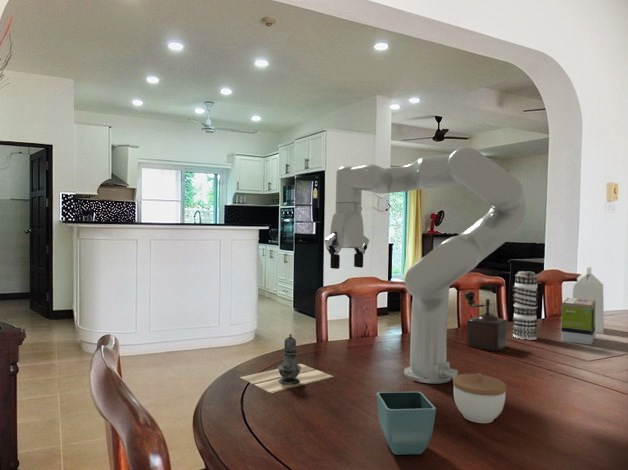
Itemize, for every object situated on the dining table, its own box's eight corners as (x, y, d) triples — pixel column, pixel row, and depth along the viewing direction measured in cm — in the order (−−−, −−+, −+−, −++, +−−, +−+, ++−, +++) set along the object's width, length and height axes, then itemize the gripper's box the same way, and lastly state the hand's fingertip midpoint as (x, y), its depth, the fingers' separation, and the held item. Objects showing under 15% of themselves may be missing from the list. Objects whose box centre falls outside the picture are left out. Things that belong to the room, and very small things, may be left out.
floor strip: (315, 373, 125) (315, 369, 125) (253, 389, 112) (253, 383, 112) (300, 367, 130) (300, 363, 130) (239, 382, 117) (239, 377, 117)
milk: (603, 333, 185) (605, 269, 184) (570, 329, 191) (572, 267, 191) (603, 328, 195) (605, 267, 194) (572, 324, 201) (574, 265, 201)
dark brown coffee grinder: (508, 346, 161) (509, 294, 160) (496, 352, 152) (497, 298, 152) (465, 338, 171) (467, 290, 171) (452, 343, 163) (453, 292, 163)
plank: (333, 380, 120) (333, 376, 120) (270, 397, 107) (270, 392, 107) (316, 373, 125) (316, 369, 125) (254, 388, 112) (254, 384, 112)
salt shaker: (297, 386, 111) (299, 337, 111) (274, 384, 113) (275, 335, 112) (303, 378, 117) (304, 332, 117) (281, 376, 118) (282, 330, 118)
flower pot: (374, 438, 88) (375, 391, 87) (419, 437, 88) (420, 390, 88) (385, 461, 79) (387, 409, 79) (435, 460, 80) (437, 409, 79)
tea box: (566, 334, 183) (567, 296, 182) (595, 338, 177) (596, 299, 176) (560, 341, 170) (561, 301, 170) (591, 345, 164) (593, 304, 164)
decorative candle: (508, 333, 180) (510, 270, 180) (533, 335, 179) (534, 271, 179) (515, 339, 171) (517, 272, 171) (541, 340, 170) (543, 273, 169)
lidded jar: (477, 431, 91) (478, 384, 91) (441, 411, 101) (442, 369, 101) (516, 423, 96) (518, 378, 96) (479, 405, 105) (480, 364, 105)
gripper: (359, 210, 143) (358, 265, 143) (317, 208, 132) (316, 267, 132) (377, 210, 137) (376, 267, 138) (335, 207, 126) (334, 270, 126)
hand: (346, 267), depth 135 cm, fingers open, 9 cm apart
